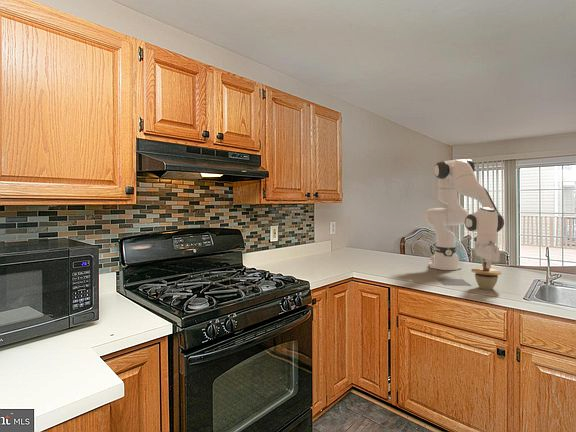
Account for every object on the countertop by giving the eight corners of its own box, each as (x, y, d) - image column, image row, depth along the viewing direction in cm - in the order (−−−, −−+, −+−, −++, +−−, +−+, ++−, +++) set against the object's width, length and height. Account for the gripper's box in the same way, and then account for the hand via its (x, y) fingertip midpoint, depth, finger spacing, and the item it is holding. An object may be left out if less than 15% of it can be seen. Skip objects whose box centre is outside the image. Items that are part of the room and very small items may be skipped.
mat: (436, 279, 192) (436, 278, 192) (462, 279, 190) (462, 279, 190) (443, 285, 178) (443, 285, 178) (472, 286, 176) (472, 285, 176)
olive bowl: (476, 285, 178) (477, 271, 178) (499, 288, 172) (499, 274, 172) (472, 289, 171) (473, 275, 170) (495, 292, 164) (496, 278, 164)
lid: (467, 269, 178) (467, 260, 178) (494, 269, 176) (494, 260, 176) (477, 274, 165) (477, 265, 165) (506, 275, 164) (506, 265, 163)
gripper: (503, 243, 159) (503, 272, 160) (485, 237, 179) (484, 263, 180) (489, 242, 160) (488, 272, 161) (472, 237, 180) (471, 263, 181)
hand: (486, 267), depth 171 cm, fingers closed on lid, 3 cm apart
